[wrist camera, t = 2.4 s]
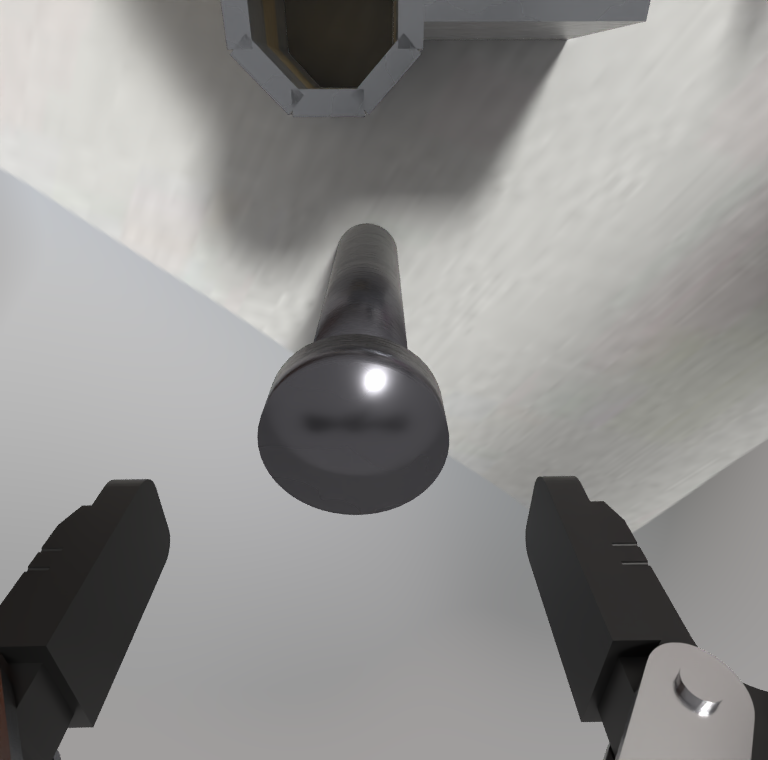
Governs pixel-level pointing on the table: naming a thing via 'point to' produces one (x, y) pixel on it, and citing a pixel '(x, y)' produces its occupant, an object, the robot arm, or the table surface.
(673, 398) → the table surface
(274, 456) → the hinge pin
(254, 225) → the table surface
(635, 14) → the hinge
